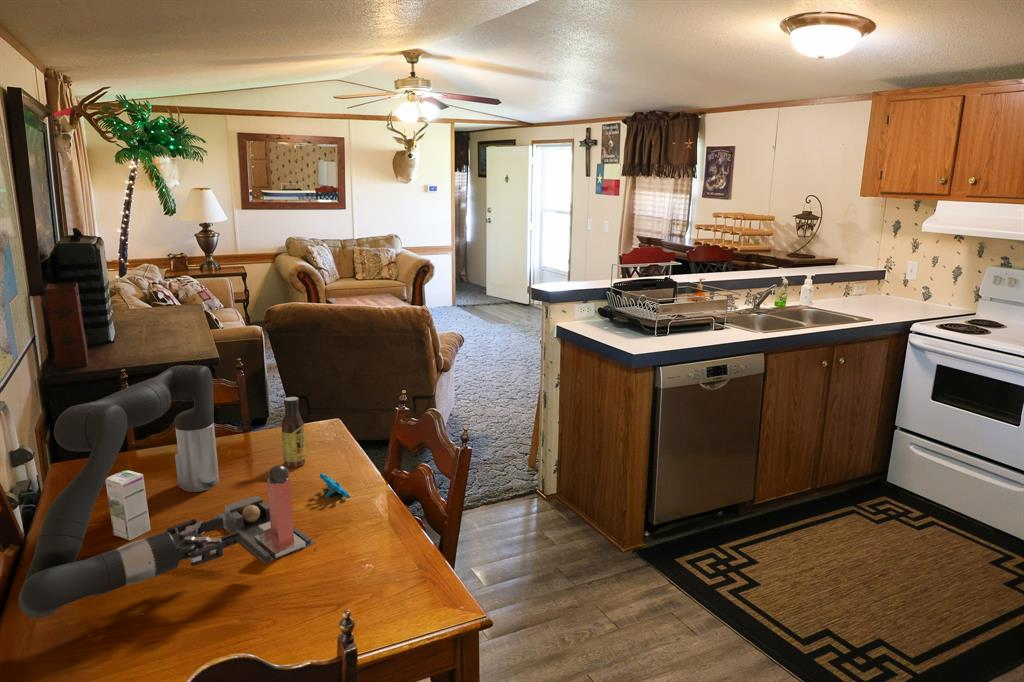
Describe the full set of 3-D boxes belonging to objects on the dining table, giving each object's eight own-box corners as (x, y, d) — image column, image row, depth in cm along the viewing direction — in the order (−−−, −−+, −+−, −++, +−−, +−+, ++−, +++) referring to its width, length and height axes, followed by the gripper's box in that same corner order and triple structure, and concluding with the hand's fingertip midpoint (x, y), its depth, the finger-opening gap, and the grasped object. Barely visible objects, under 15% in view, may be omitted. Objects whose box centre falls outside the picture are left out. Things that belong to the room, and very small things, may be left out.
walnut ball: (239, 524, 158) (238, 509, 157) (248, 516, 162) (247, 501, 161) (255, 526, 157) (253, 510, 156) (264, 518, 161) (262, 502, 160)
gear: (357, 499, 171) (326, 477, 167) (341, 518, 170) (310, 496, 166) (348, 487, 181) (319, 466, 177) (333, 505, 180) (304, 484, 176)
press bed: (212, 522, 162) (210, 503, 161) (260, 506, 170) (258, 488, 169) (265, 569, 143) (263, 548, 141) (316, 549, 151) (315, 528, 150)
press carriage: (254, 540, 151) (248, 461, 146) (284, 529, 156) (278, 452, 151) (275, 558, 144) (269, 475, 140) (305, 546, 149) (300, 466, 144)
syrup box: (151, 530, 158) (144, 472, 155) (128, 541, 153) (120, 483, 149) (135, 524, 160) (128, 468, 157) (111, 536, 155) (103, 478, 152)
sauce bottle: (302, 468, 192) (298, 402, 188) (280, 468, 193) (275, 402, 188) (309, 459, 199) (305, 395, 194) (288, 459, 199) (283, 395, 194)
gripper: (157, 555, 122) (244, 524, 134) (132, 526, 132) (215, 500, 143) (161, 591, 124) (247, 558, 135) (136, 561, 134) (218, 532, 145)
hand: (230, 528), depth 139 cm, fingers open, 8 cm apart
